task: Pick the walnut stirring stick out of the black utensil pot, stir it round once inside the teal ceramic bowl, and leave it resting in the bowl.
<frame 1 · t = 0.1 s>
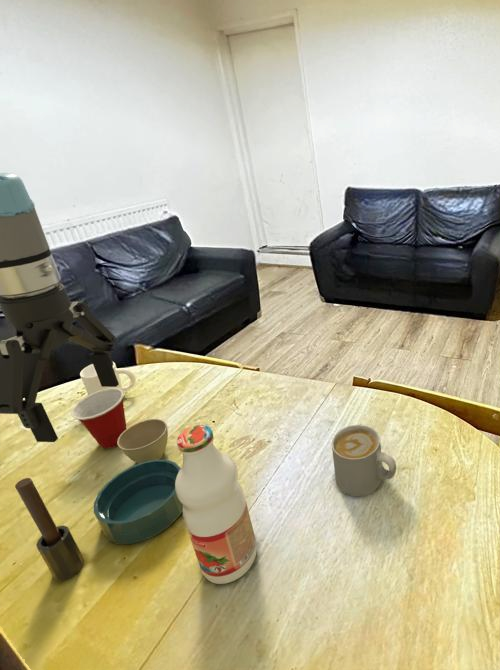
hand: (82, 410, 67), 29 cm above the table, tool pointing down, fingers open, 13 cm apart
bowl: (148, 510, 83), on the table
mug: (117, 398, 118), on the table
utensil pot: (69, 568, 72), on the table
plastic cup: (113, 441, 102), on the table
fruit juice: (230, 559, 73), on the table
coffee mug: (365, 481, 87), on the table
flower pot: (151, 457, 96), on the table
stick: (47, 527, 68), in the utensil pot
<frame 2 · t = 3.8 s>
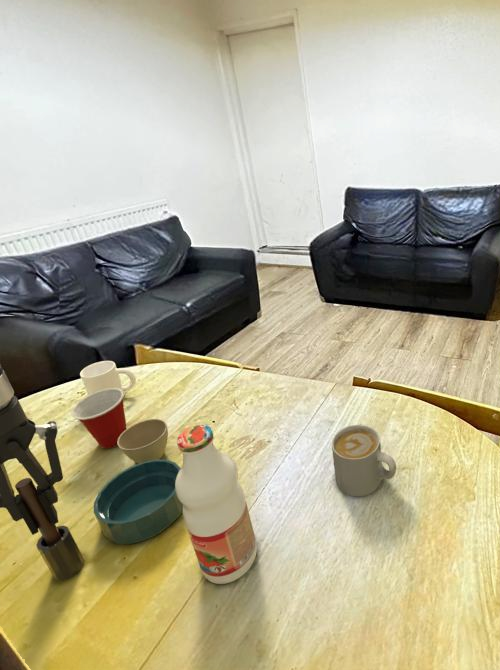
hand: (44, 522, 68), 11 cm above the table, tool pointing down, fingers closed on stick, 2 cm apart
stick: (47, 527, 68), in the utensil pot, point 10 cm above the table, touching gripper
everything else where it was.
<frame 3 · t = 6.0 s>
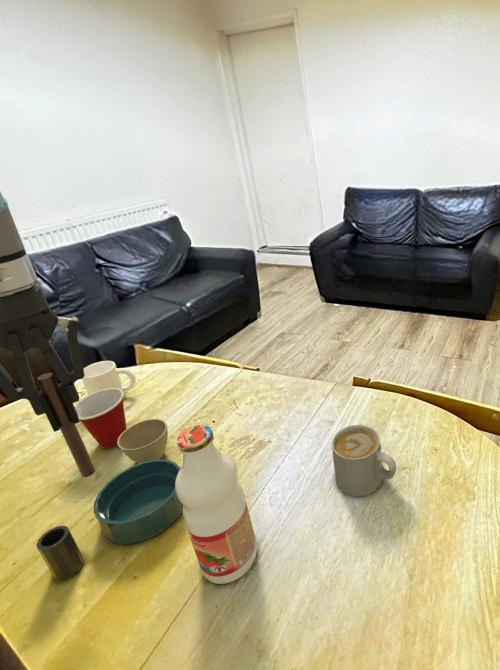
hand: (66, 422, 67), 27 cm above the table, tool pointing down, fingers closed on stick, 2 cm apart
stick: (68, 427, 67), point 26 cm above the table, touching gripper
everything else where it was.
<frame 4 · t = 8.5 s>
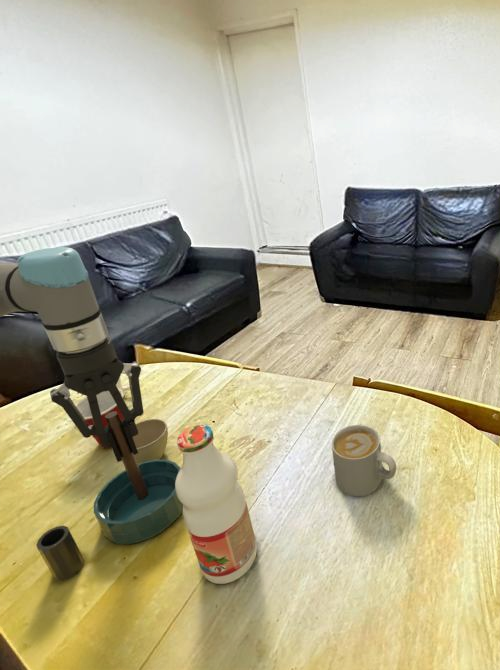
hand: (126, 453, 76), 15 cm above the table, tool pointing down, fingers closed on stick, 2 cm apart
stick: (128, 457, 77), point 14 cm above the table, touching gripper
everything else where it was.
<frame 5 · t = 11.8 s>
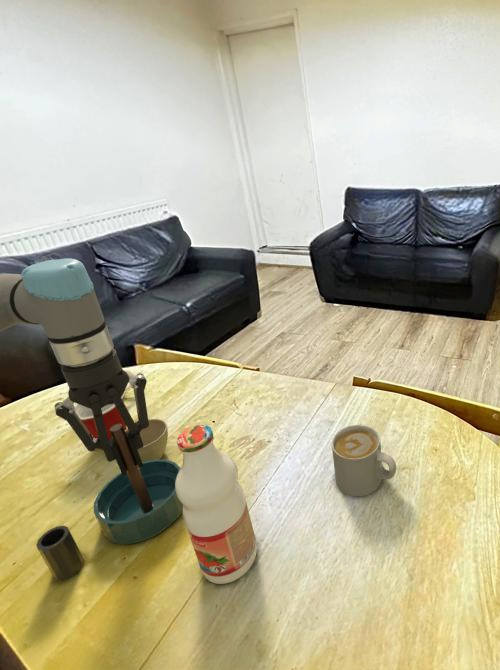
hand: (131, 466, 75), 14 cm above the table, tool pointing down, fingers closed on stick, 2 cm apart
stick: (132, 470, 76), point 13 cm above the table, touching gripper
everything else where it was.
when the fingers open (12 cm above the table, at t = 13.7 s): stick stays where it is, resting on bowl.
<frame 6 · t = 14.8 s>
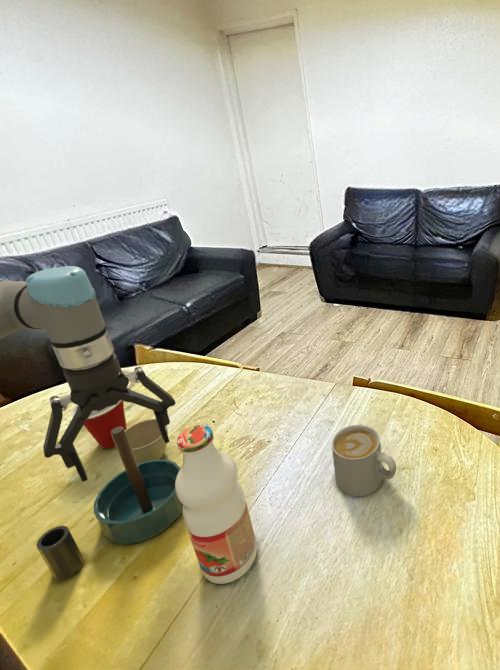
hand: (127, 457, 77), 14 cm above the table, tool pointing down, fingers open, 13 cm apart
stick: (133, 471, 78), in the bowl, point 11 cm above the table
everything else where it was.
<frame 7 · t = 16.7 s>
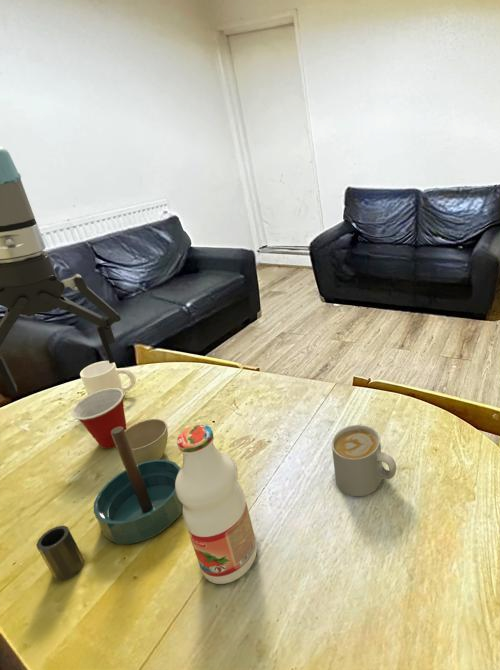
hand: (65, 374, 70), 32 cm above the table, tool pointing down, fingers open, 13 cm apart
nothing on the table moved.
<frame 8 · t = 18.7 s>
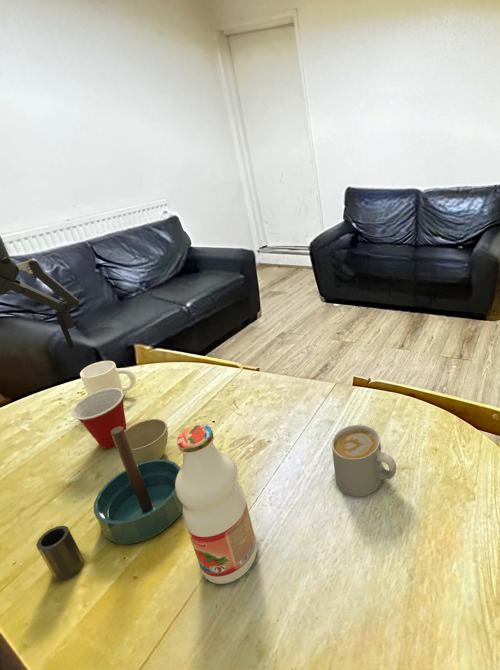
hand: (23, 359, 70), 35 cm above the table, tool pointing down, fingers open, 13 cm apart
nothing on the table moved.
at the end: stick inside the target area in the bowl (0.1 cm from its centre), point 10.6 cm above the bowl's base; stick moved 13.9 cm from its start; the gripper is holding nothing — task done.
